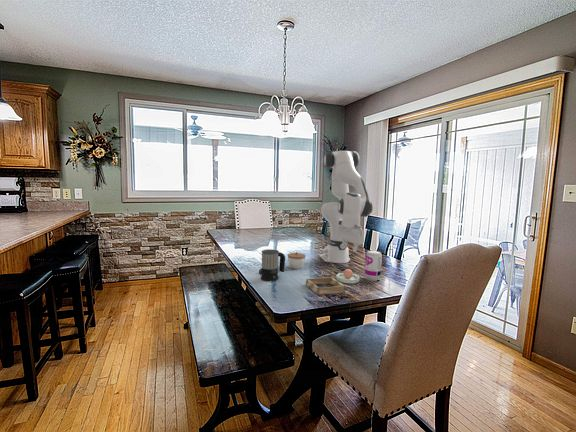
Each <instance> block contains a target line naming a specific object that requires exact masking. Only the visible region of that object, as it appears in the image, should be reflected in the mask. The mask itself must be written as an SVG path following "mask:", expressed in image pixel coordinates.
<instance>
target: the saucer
mask: <svg viewBox="0 0 576 432" xmlns="http://www.w3.org/2000/svg"><path fill="white" fill-rule="evenodd" d="M335 279H336V280H337V281H338V282H340V283H342V284H351V285H352V284H358V283H359V282H360V280H361V276H359V275H357V274H356V273H353V276H352V277H351V278H349V279H348V278H345V277H344V275H343V272H338V273H337V274H336V275H335Z"/></svg>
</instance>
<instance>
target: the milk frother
mask: <svg viewBox="0 0 576 432" xmlns="http://www.w3.org/2000/svg"><path fill="white" fill-rule="evenodd" d="M260 252H261V268H260V269H259V270H258V273H259V274H260V275H261V276H260V280H261V281H265V282H275V281H277V280H279V272H281V273H284V272H285V266H286V256H285V254H284V253H282V252H280V251H279V250H277V249H271V248H270V249H269V248H267V249H262V250H261V251H260Z"/></svg>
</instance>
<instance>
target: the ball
mask: <svg viewBox="0 0 576 432" xmlns="http://www.w3.org/2000/svg"><path fill="white" fill-rule="evenodd" d="M342 273H343V275H344V277H345V278H348V279H349V278H351V277H352V276H353V274H354V272H353V270H351V269H350V268H346V269H345V270H344V271H343V272H342Z"/></svg>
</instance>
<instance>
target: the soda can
mask: <svg viewBox="0 0 576 432" xmlns="http://www.w3.org/2000/svg"><path fill="white" fill-rule="evenodd" d="M382 259H383V255H382V252H381V251H378V250H367V252H366V254H365V264H364V266H365V267H364V279H365V280H367V281H369V280H371V281H370V282H378V281H377V280H379V281H380V280H381V273H382Z"/></svg>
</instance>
